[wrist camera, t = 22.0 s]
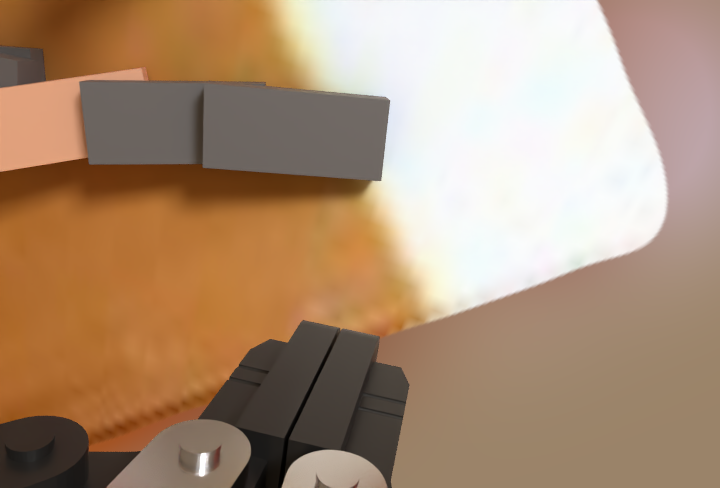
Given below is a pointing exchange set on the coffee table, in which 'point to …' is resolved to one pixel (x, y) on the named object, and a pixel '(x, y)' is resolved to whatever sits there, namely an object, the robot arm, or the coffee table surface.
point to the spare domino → (47, 120)
